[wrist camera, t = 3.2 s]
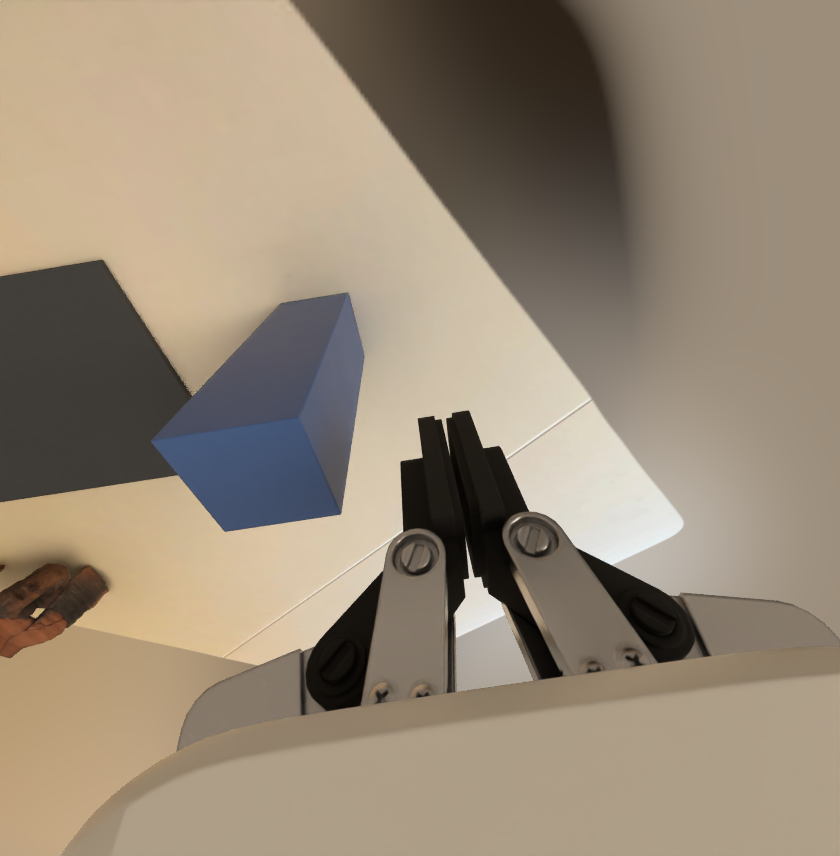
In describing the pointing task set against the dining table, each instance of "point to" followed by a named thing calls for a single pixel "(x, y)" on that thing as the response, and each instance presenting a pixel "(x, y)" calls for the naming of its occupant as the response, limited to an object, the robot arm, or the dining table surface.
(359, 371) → the blue post
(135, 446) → the rubber mat
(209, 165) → the dining table surface
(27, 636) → the brown broken pot
